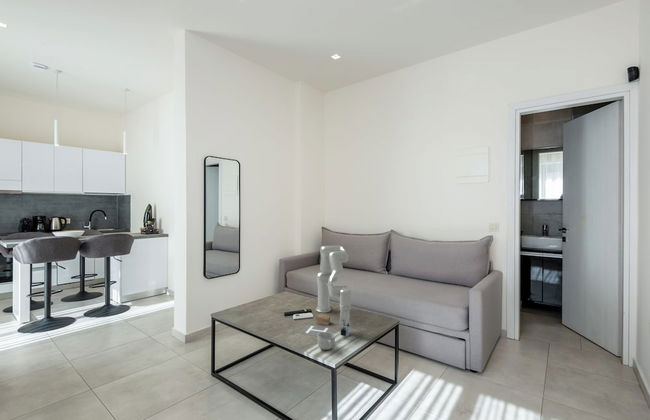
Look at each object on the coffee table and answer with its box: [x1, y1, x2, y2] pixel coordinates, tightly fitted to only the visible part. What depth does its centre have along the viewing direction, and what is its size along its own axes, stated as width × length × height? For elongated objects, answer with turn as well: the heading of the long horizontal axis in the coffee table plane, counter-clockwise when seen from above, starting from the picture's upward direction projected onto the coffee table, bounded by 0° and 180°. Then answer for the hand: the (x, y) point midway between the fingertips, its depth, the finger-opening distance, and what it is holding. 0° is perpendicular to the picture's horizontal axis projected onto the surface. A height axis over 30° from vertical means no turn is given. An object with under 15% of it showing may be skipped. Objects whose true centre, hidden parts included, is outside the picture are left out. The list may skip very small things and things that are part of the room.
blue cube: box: [344, 325, 350, 337], centre depth 210 cm, size 5×5×5 cm
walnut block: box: [315, 314, 331, 326], centre depth 229 cm, size 5×9×5 cm, turn 73°
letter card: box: [299, 324, 335, 336], centre depth 216 cm, size 14×21×1 cm, turn 73°
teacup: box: [317, 332, 336, 351], centre depth 189 cm, size 14×11×8 cm
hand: (345, 332), depth 209 cm, fingers open, 9 cm apart
